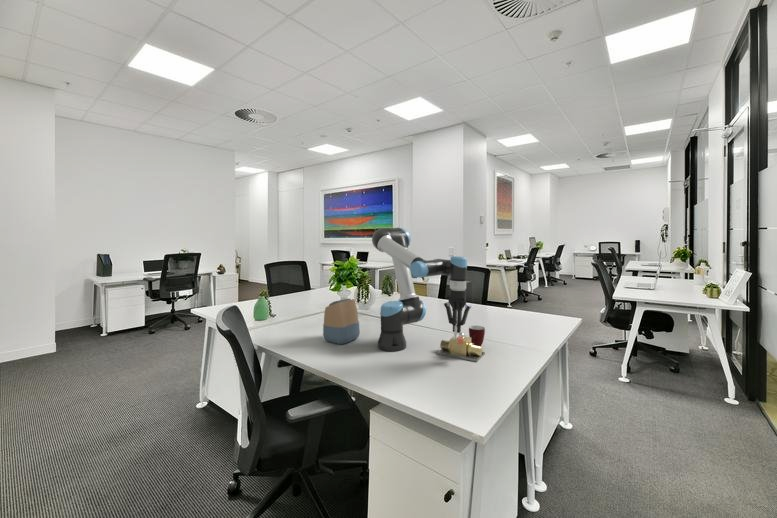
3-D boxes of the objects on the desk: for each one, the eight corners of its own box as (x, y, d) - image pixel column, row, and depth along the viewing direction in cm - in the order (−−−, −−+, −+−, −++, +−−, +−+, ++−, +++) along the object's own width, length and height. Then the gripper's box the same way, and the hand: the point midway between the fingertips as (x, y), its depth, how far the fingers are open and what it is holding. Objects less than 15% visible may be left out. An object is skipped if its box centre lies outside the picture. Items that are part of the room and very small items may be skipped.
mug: (482, 351, 171) (482, 331, 170) (466, 349, 174) (466, 330, 173) (485, 344, 180) (485, 326, 180) (470, 343, 184) (470, 324, 183)
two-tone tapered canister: (341, 334, 204) (340, 295, 202) (362, 338, 194) (361, 298, 192) (320, 341, 190) (319, 300, 188) (342, 346, 180) (341, 303, 179)
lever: (457, 337, 168) (457, 331, 168) (464, 337, 168) (464, 332, 168) (457, 344, 157) (457, 339, 157) (464, 345, 156) (464, 339, 156)
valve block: (437, 354, 168) (437, 338, 167) (446, 347, 178) (446, 332, 177) (476, 362, 157) (476, 345, 156) (484, 354, 167) (484, 338, 166)
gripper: (442, 289, 159) (440, 338, 161) (468, 291, 152) (466, 343, 154) (448, 287, 165) (447, 334, 167) (473, 289, 158) (472, 339, 160)
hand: (456, 339), depth 160 cm, fingers closed
